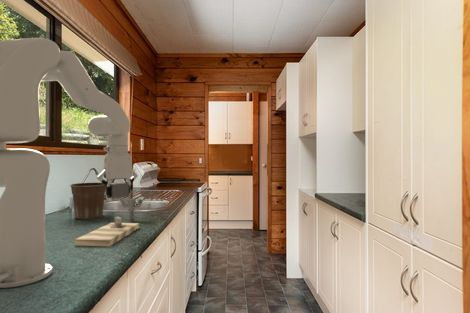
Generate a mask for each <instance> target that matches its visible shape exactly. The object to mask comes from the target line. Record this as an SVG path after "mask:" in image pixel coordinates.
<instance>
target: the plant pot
mask: <svg viewBox="0 0 470 313" xmlns="http://www.w3.org/2000/svg"><path fill="white" fill-rule="evenodd" d="M69 187H70V189H71V194H72V202H73V212H74V218H75V219H76V220H77V219H78V220H85V221H86V220H94V219H97V218H102V217H103V215H104V204H105V203H104V202H105V195H106V186H105V185H104V184H103V183H102V182H79V183H71V184H70V185H69Z"/></svg>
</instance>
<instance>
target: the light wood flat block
mask: <svg viewBox="0 0 470 313" xmlns="http://www.w3.org/2000/svg"><path fill="white" fill-rule="evenodd" d="M122 221H123V220H122V217H121V216H114V222H109V223H108V224H105V225H104V226H100V227H98V228H96V229H94V230H92V231H90V232H88V233H86V234H84V235H82V236H79V237H77V238H75V239H74V246H76V247H77V246H82V247H83V246H85V247H87V246H89V247H111V246H112V245H114V244H115V243H117V242H119V241H120V240H122V239H124V238H125V237H127V236H129V235H130V234H132V233H134V232H135V231H137V230H138V229H140V223H139V222H138V223H137V222H122ZM136 229H137V230H136ZM133 231H134V232H133Z"/></svg>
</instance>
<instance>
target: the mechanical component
mask: <svg viewBox="0 0 470 313" xmlns="http://www.w3.org/2000/svg"><path fill="white" fill-rule="evenodd" d="M120 203H121V206H122V208H128V211H129V222H134V219H135V218H134V217H135V216H134V212H135V209H136V208H138V209H139V208H140V207H142V204H143V199H141V198H139V199H137V201H136V198H133V197H132V198H129V197H128V198H127V197H125V198H124V197H123V198H121V199H120Z"/></svg>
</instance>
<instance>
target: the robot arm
mask: <svg viewBox="0 0 470 313" xmlns="http://www.w3.org/2000/svg"><path fill="white" fill-rule="evenodd" d="M55 81H56V82H58V83H59V84H60V86H61V87H62V88H63V90H64V91H65V92H66V94H67V95H68V96H69V98H70V99H71V101H72V102H73V103H74V104H75V105H77V106H79V107H81V108H84V109H87V110H90V111H94V112H97V113H99V114H100V113H101V114H102V115H95V116H93V117H91V118H90V119H89V121H88V123H87V127H88V128H87V129H88V131H89V132H90V133H91V134H92V135H93V136H97V137H107V140H106V141H107V145H106V146H104V147H103V151H106V152H107V153H105V156H104V163H103V170H102V171H101V172H100V173H99V174H98V176H96V179H97V180H98V181H99V182H100V183H103V184H104V185H105V186H106V192H105V195H106V196H107V197H108V198H112V187H111V183H113V181H114V180H123V181H124V183H129V194H130V193H131V186H132V184H133V183H134V181H135V180H137V178H138V177H139V175H138V174H137V173H136V172H135V171H134V170H133V161H132V156H131V153H129V133H130V131H131V123H130V119H129V117H128V116H127V113H126V111H125V110H124V108H123V107H122V106H121V104H120V103H119V102H117V101H116V100H114V99H113V98H112V97H110V96H109V95H107V94H106V93H105V92H102V91H100V90H99V89H98V87H97V86H96V84H95V83H94V81H93V80H92V78H91V77H90V75H89V73H88V71H87V69H86V68H85V67H84V65H83V64H82V62H81V60H80V59H79V57H78V56H77V55H76V54H75V53H73V52H72V51H68V50H60V47H59V45H58V44H57V43H56V42H55V41H53V40H51V39H49V38H45V37H30V38H29V37H28V38H27V37H26V38H19V39H4V40H0V188H4V190H3V191H2V192H3V193H2V194H1V196H0V288H1V289H2V288H4V289H5V288H6V289H7V288H8V289H9V288H14V287H15V288H16V287H21V286H26V285H30V284H33V283H37V282H39V281H41V280H44V279H45V278H47V277H49V276H50V275H51V274H52V273H53V265H51V264H50V263H46V195H47V194H46V192H47V191H46V190H47V185H48V181H49V176H50V171H51V170H50V169H51V165H50V161H49V159H48V158H47V156H46V155H45V154H44V153H42V152H40V151H39V150H35V149H31V148H7V144H23V143H24V144H25V143H26V144H27V143H31V142H33V141H35V140H37V139H38V137H39V136H40V132H41V115H40V114H41V113H40V86H41V83H42V82H55Z"/></svg>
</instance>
